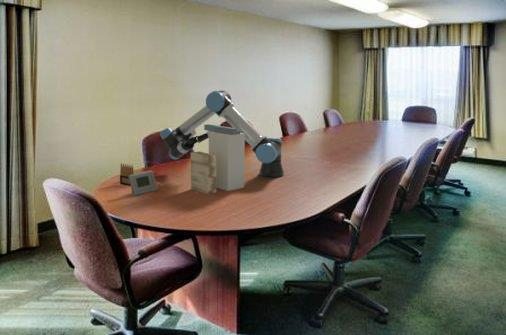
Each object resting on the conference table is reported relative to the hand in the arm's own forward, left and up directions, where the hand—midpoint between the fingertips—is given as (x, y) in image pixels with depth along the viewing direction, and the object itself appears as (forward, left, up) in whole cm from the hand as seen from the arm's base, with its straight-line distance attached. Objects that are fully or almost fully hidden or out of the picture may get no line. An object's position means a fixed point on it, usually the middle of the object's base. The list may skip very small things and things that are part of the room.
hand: (204, 130), depth 259 cm
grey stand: (0, +18, -30) cm, 35 cm away
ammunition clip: (+39, -21, -30) cm, 53 cm away
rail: (0, +13, 0) cm, 13 cm away
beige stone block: (+15, +17, -30) cm, 37 cm away
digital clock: (+41, 0, -30) cm, 51 cm away
